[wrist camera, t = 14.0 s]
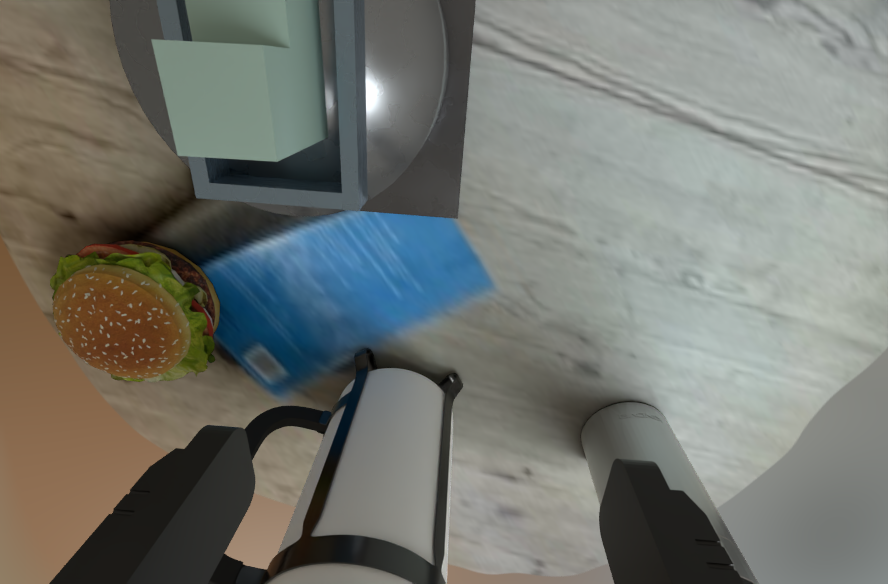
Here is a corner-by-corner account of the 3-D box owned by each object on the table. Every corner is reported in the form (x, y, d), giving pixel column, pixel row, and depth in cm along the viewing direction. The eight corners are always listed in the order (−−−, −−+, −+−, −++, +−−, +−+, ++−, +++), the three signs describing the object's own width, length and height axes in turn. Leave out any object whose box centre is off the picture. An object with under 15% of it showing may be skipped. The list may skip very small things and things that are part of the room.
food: (107, 346, 45) (40, 397, 38) (78, 219, 39) (-9, 253, 32) (238, 368, 46) (196, 423, 39) (230, 246, 39) (178, 285, 32)
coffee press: (429, 313, 41) (358, 754, 15) (488, 429, 48) (512, 882, 21) (279, 365, 45) (7, 790, 19) (352, 466, 52) (228, 889, 25)
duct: (457, 214, 37) (453, 264, 27) (202, 194, 37) (113, 236, 28) (486, -130, 27) (495, -238, 17) (135, -154, 27) (-41, -272, 18)
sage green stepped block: (313, -68, 22) (240, -134, 15) (328, 137, 27) (277, 161, 20) (225, -73, 22) (110, -140, 15) (255, 132, 27) (177, 155, 20)
